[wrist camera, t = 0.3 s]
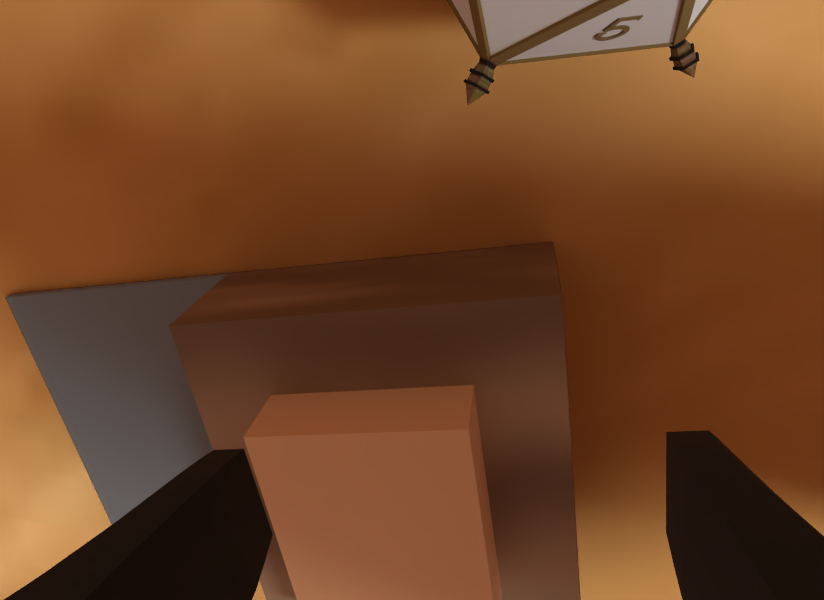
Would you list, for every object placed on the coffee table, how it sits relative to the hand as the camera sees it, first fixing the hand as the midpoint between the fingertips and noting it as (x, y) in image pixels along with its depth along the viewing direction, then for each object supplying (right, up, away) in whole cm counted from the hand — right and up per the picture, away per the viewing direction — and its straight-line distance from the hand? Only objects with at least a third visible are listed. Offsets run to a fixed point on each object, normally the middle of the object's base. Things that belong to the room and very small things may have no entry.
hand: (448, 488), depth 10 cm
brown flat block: (-1, -2, +12) cm, 12 cm away
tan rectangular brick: (-1, -3, +9) cm, 9 cm away
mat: (-10, -3, +14) cm, 18 cm away
